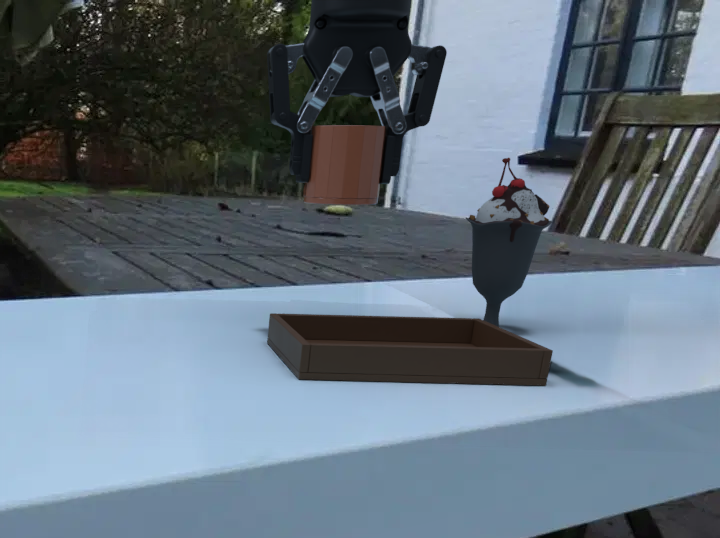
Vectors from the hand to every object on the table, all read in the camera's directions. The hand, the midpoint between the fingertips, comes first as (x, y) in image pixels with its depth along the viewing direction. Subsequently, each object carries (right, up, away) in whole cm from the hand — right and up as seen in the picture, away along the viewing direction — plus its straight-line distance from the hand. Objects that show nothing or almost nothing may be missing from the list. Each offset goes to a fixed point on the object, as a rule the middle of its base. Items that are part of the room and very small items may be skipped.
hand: (342, 182), depth 77 cm
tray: (+2, -16, -6) cm, 17 cm away
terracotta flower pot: (0, -2, +1) cm, 2 cm away
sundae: (+13, -13, +3) cm, 19 cm away
